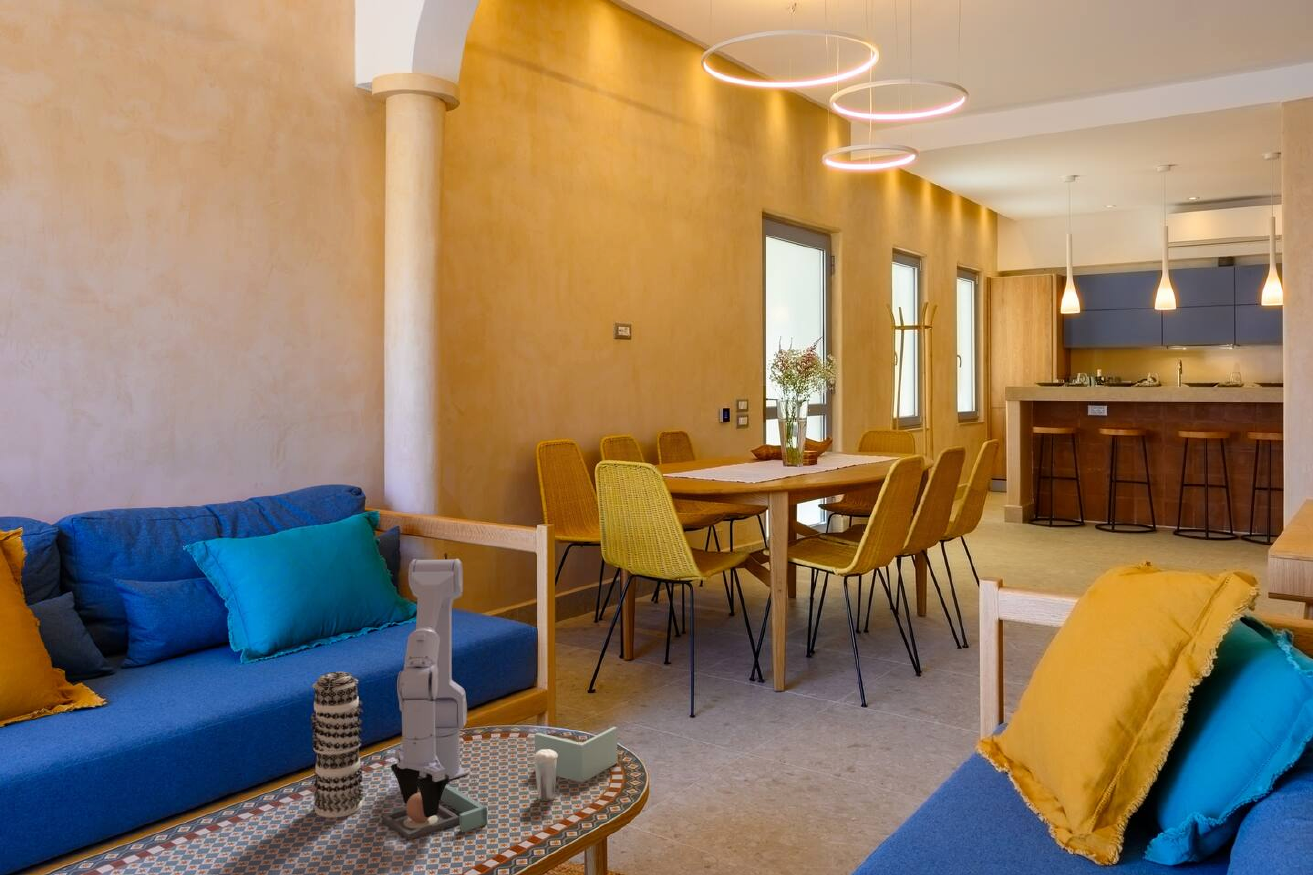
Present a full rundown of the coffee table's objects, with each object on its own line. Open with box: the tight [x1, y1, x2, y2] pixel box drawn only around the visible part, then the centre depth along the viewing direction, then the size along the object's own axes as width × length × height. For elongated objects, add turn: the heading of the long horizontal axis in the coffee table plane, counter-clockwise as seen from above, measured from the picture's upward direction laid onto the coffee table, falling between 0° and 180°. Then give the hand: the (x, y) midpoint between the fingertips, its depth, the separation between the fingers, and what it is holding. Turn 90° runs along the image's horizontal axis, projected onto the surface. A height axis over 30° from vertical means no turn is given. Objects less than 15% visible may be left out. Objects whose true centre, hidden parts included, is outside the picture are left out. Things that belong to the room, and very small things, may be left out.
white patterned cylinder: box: [310, 671, 364, 819], centre depth 183 cm, size 9×9×25 cm
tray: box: [381, 803, 460, 842], centre depth 177 cm, size 10×10×1 cm
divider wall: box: [440, 783, 488, 834], centre depth 181 cm, size 17×5×3 cm, turn 42°
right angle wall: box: [534, 726, 619, 783], centre depth 203 cm, size 12×12×8 cm
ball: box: [405, 791, 430, 822], centre depth 177 cm, size 5×5×5 cm
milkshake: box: [533, 747, 562, 802], centre depth 187 cm, size 4×5×10 cm
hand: (420, 808), depth 177 cm, fingers open, 7 cm apart
